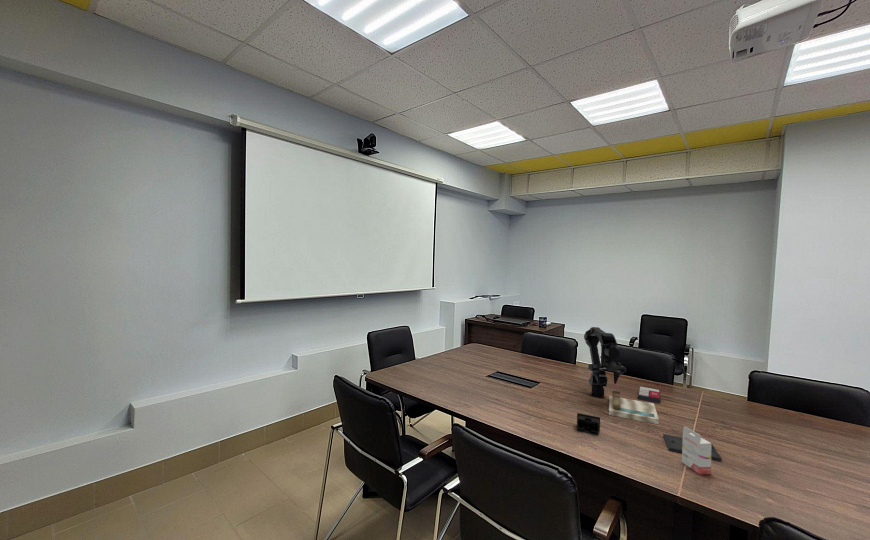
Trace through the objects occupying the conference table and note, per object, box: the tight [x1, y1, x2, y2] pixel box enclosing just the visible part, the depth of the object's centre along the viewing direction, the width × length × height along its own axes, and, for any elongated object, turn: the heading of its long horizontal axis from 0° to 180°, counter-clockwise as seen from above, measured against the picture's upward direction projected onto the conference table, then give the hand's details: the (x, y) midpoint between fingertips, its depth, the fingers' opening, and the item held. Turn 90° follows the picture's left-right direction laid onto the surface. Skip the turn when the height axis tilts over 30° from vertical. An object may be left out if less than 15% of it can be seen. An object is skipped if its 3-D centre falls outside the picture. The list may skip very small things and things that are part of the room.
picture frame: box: [662, 433, 723, 463], centre depth 147 cm, size 13×2×18 cm
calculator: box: [637, 386, 661, 405], centre depth 205 cm, size 11×4×15 cm
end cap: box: [576, 412, 601, 436], centre depth 162 cm, size 10×7×7 cm
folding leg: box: [611, 390, 621, 410], centre depth 188 cm, size 19×4×5 cm, turn 152°
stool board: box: [608, 395, 660, 425], centre depth 184 cm, size 22×23×3 cm
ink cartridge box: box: [681, 425, 713, 475], centre depth 132 cm, size 9×5×15 cm, turn 5°
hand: (606, 383), depth 192 cm, fingers open, 9 cm apart
